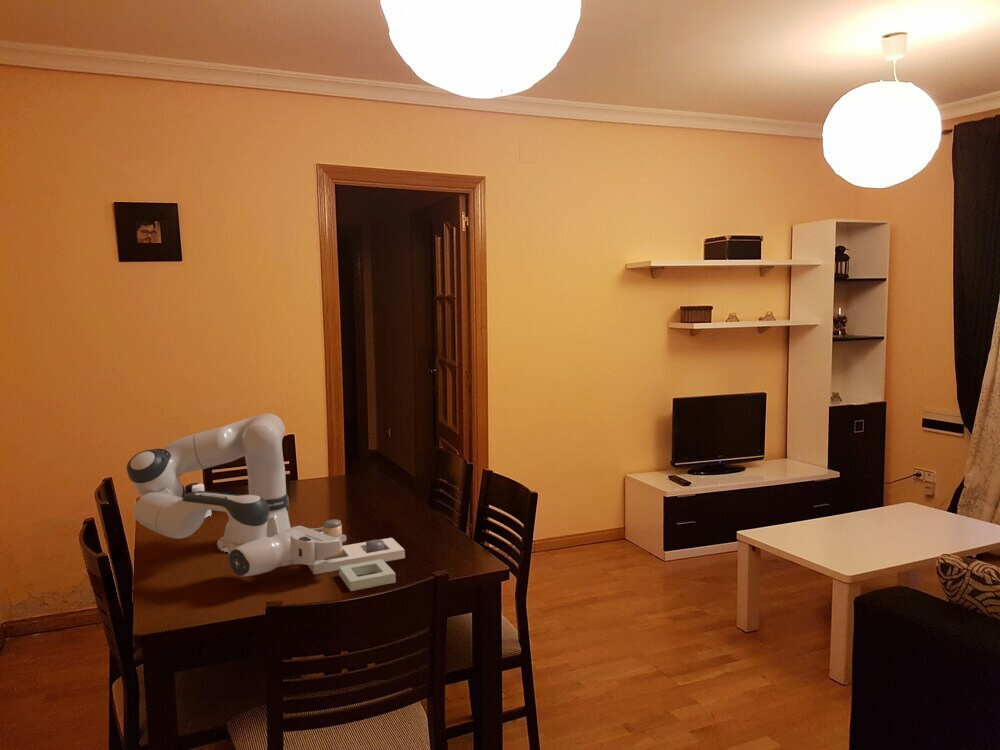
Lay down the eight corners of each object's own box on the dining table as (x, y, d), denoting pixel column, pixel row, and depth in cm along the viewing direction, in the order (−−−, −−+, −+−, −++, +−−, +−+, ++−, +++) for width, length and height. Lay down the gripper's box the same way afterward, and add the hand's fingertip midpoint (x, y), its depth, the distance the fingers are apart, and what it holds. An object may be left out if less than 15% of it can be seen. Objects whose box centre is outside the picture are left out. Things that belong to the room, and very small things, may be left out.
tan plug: (327, 567, 200) (325, 525, 199) (323, 561, 205) (321, 520, 204) (345, 564, 203) (343, 523, 201) (340, 558, 207) (339, 518, 206)
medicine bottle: (180, 520, 247) (178, 485, 245) (196, 514, 253) (194, 480, 252) (196, 522, 244) (194, 487, 243) (212, 516, 250) (210, 482, 249)
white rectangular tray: (313, 574, 195) (313, 560, 195) (304, 560, 206) (304, 547, 206) (405, 558, 207) (404, 544, 206) (392, 545, 217) (391, 532, 217)
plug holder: (350, 591, 184) (350, 581, 183) (339, 575, 194) (338, 566, 194) (395, 582, 189) (395, 573, 189) (382, 567, 200) (381, 558, 199)
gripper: (271, 549, 200) (313, 536, 210) (313, 566, 187) (356, 552, 197) (270, 527, 199) (313, 515, 210) (312, 543, 186) (356, 530, 196)
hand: (334, 533), depth 203 cm, fingers open, 8 cm apart
